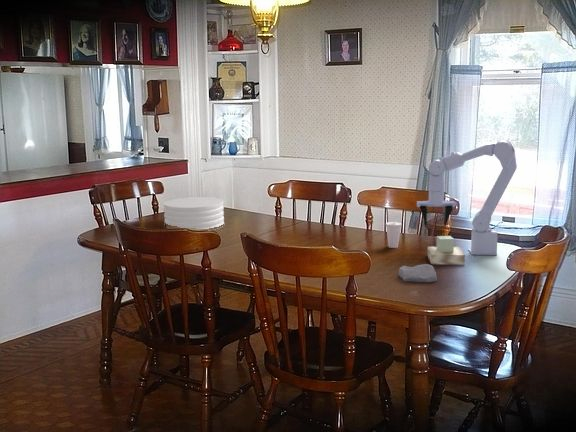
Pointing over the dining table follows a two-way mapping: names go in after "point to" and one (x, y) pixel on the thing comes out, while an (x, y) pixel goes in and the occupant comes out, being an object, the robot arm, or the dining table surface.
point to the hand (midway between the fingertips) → (435, 224)
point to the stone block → (418, 273)
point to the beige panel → (446, 256)
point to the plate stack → (194, 212)
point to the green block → (445, 244)
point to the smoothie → (393, 233)
